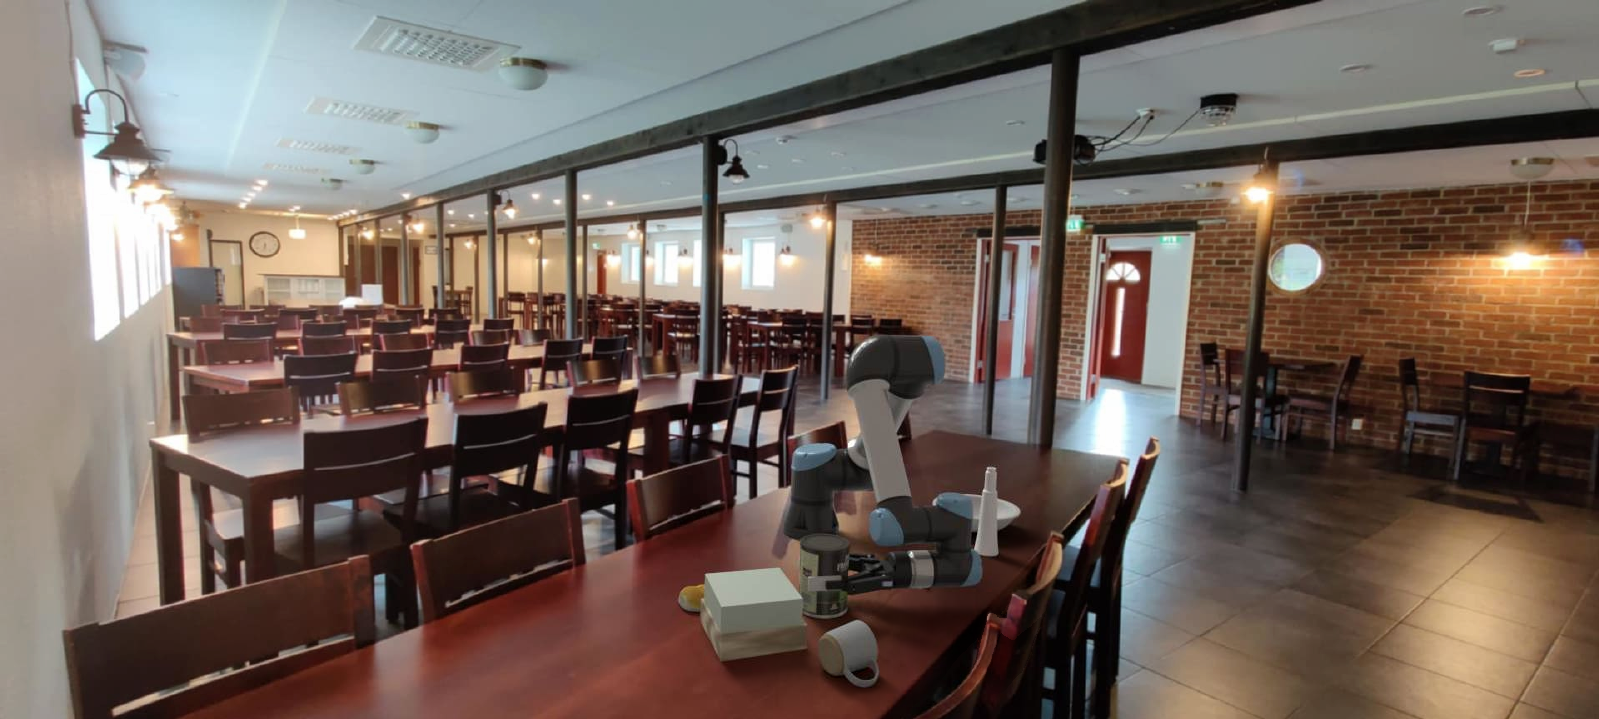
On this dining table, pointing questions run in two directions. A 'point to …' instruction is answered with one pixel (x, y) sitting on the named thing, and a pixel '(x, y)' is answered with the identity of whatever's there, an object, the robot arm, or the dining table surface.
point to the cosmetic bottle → (988, 517)
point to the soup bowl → (1004, 512)
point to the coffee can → (823, 573)
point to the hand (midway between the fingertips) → (803, 573)
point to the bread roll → (692, 597)
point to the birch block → (752, 639)
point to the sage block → (752, 600)
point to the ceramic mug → (849, 651)
